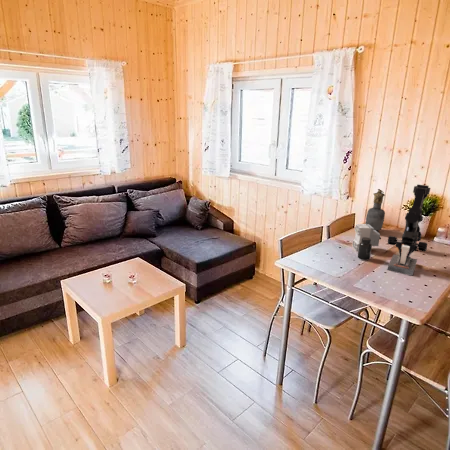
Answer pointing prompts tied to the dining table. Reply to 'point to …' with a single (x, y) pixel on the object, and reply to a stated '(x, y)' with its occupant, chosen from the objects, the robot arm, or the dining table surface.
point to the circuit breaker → (365, 235)
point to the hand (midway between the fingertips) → (403, 257)
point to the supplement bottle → (365, 249)
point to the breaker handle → (404, 253)
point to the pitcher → (376, 212)
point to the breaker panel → (402, 265)
